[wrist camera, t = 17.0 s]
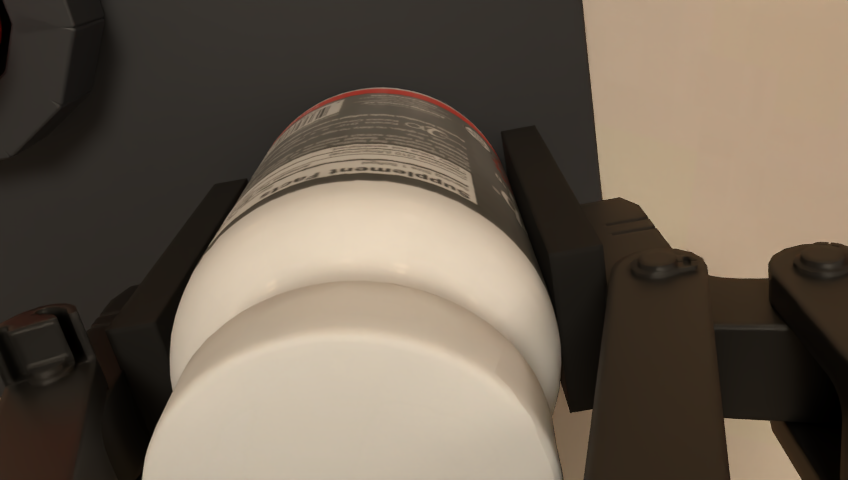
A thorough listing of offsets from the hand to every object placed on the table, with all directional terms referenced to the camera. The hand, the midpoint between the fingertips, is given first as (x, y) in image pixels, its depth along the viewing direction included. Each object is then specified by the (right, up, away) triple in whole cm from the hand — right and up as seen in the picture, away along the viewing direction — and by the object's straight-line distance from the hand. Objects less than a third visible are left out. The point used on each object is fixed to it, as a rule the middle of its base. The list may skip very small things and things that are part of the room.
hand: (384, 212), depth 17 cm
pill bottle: (0, 0, 0) cm, 0 cm away
